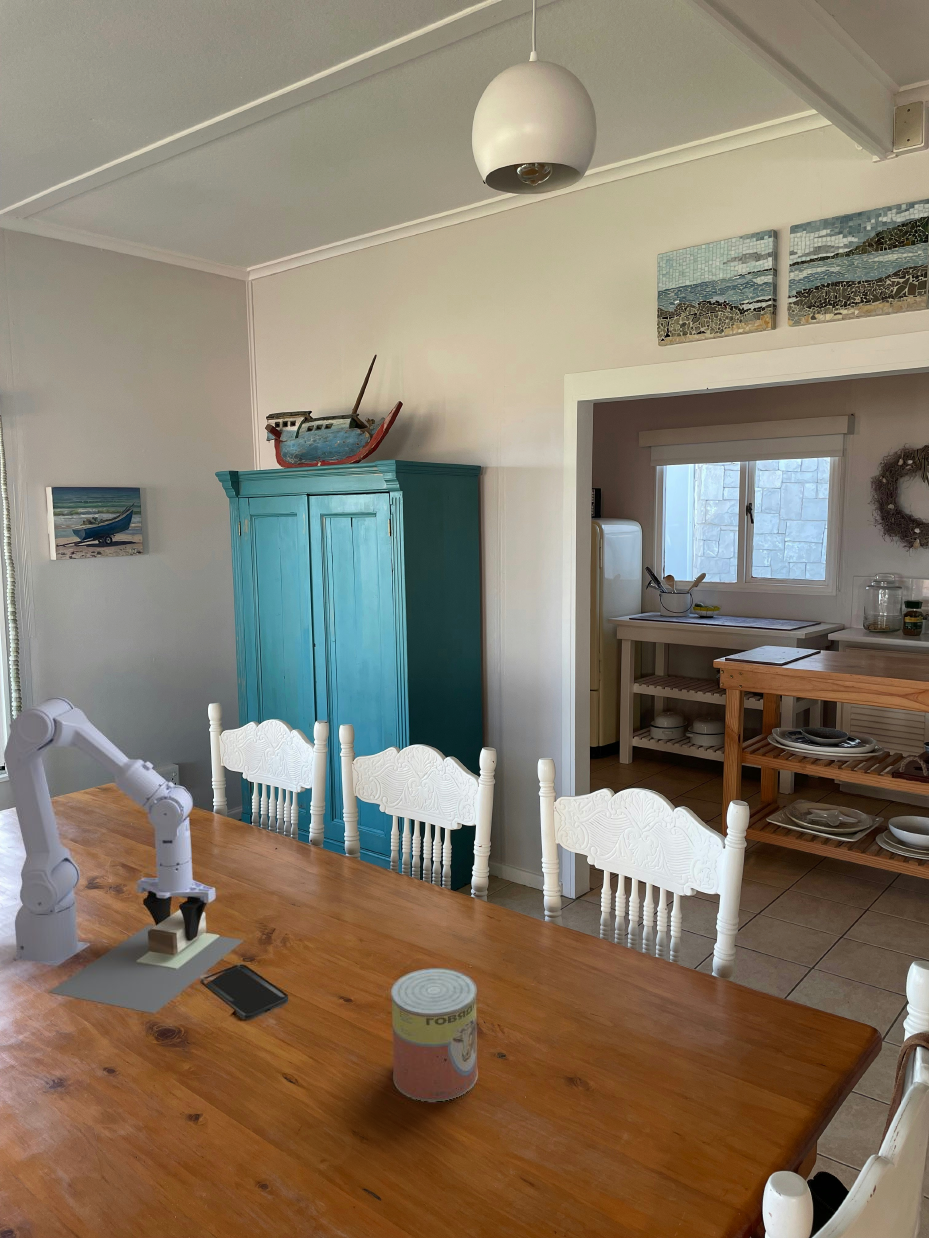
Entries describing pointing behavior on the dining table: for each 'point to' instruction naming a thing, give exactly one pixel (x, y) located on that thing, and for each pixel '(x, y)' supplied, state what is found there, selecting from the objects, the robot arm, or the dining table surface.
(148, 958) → the pad
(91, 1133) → the dining table surface
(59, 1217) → the dining table surface
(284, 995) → the phone
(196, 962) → the mat
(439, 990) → the canned food
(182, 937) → the card box
